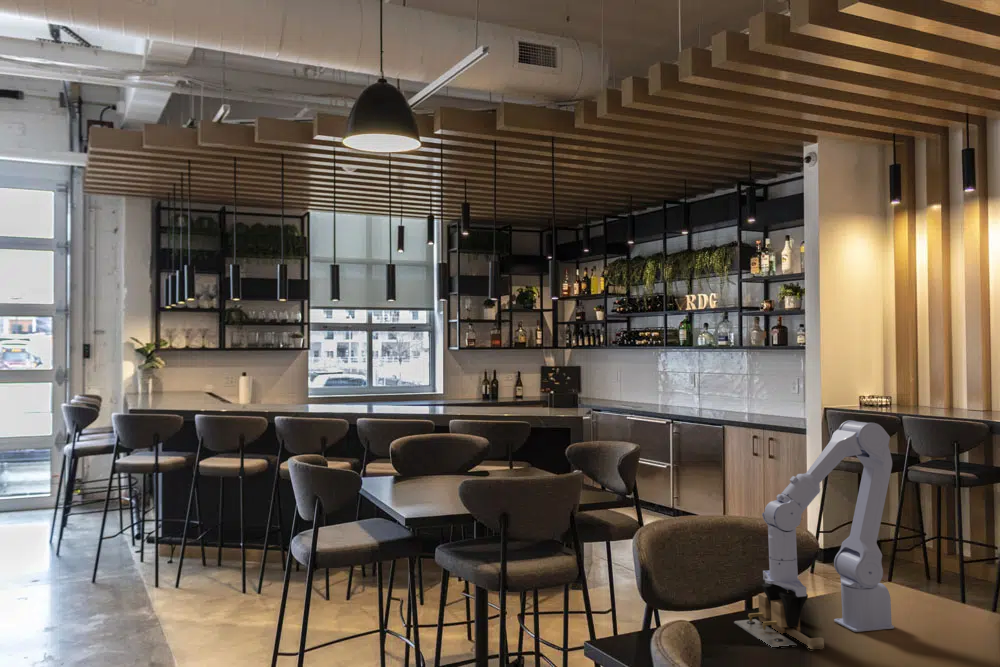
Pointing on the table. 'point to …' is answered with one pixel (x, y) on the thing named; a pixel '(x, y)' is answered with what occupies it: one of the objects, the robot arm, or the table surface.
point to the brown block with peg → (778, 617)
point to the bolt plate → (764, 633)
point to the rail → (805, 638)
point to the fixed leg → (762, 609)
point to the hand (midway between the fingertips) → (785, 621)
